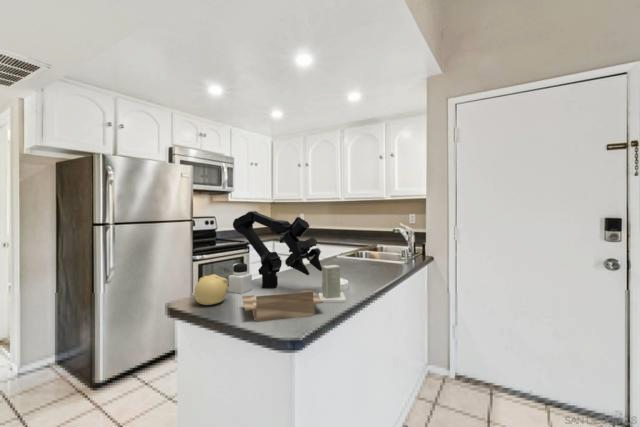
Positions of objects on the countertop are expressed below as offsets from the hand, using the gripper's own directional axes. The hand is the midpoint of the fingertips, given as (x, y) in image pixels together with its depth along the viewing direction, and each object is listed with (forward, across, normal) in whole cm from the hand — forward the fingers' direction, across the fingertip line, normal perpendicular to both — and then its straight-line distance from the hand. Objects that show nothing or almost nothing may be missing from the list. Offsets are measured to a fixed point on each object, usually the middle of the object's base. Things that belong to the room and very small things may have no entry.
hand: (315, 272), depth 131 cm
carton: (+7, -22, +6) cm, 24 cm away
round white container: (+7, +15, +7) cm, 18 cm away
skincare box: (+12, 0, +1) cm, 12 cm away
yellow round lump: (-13, -30, +27) cm, 42 cm away
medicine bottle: (-15, -12, +29) cm, 35 cm away
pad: (+12, 0, +1) cm, 13 cm away
